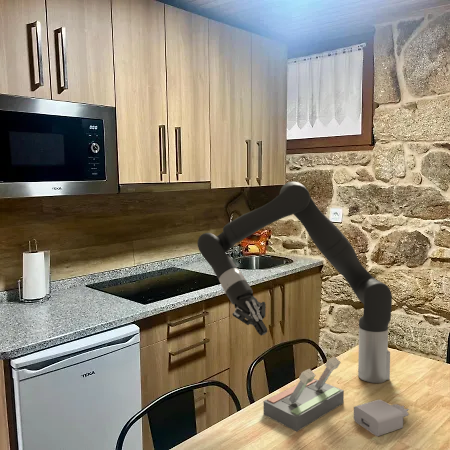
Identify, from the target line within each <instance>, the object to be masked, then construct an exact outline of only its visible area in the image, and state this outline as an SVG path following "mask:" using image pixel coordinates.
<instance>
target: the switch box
mask: <svg viewBox="0 0 450 450" xmlns="http://www.w3.org/2000/svg"><path fill="white" fill-rule="evenodd" d="M318 380H319V379H316V378H314V379H313V380H312V381H311V382H309V383H307V385H306V387H305V388H304V390H303V392H302V393H301V395H300V396H299V398H298V400H297V401H296V402H294V403H291V402H290V401H289V398H290V397H291V395H292V393H293V392H294V390H295V388H296V387H297V385H298V383H296V385H293V386H292V387H289V388H286V390H283V391H281V392H279V393H277V394H275V395H273V396H271V397H269V398H267V399H265V400H263V415H264V416H265V417H268V418H269V419H271V420H273V421H276V422H278V423H279V424H281V425H283V426H285V427H287V428H289V429H291V431H295V432H299V431H301V430H302V429H304V428H305V427H307V426H309V425H311V424H312V423H313V422H315V421H316V420H318V419H320V418H322V417H323V416H325V415H327V414H329V413H330V412H331V411H333V410H335V409H336V408H338V407H339V406H342V405H343V404H344V402H345V401H344V398H345V397H344V396H345V395H344V394H345V393H344V391H345V390H344V389H341V388H339V387H336V386H334V385H331V384H328V383H326V382H325V384H324V385H323V387H322V388H320V389H317V388H316V387H315V385H316V383H317V381H318Z"/></svg>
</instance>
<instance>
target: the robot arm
mask: <svg viewBox="0 0 450 450" xmlns="http://www.w3.org/2000/svg"><path fill="white" fill-rule="evenodd" d="M292 215H294V217H296V218H297V220H298V221H299V222H300V223H301V224H302V226H303V227H304V229H305V230H306V232H307V234H308V236H309V237H310V239H311V240H312V242H313V243H314V245H315V246H316V248H317V249H318V250H319V252H320V253H321V254H322V255H323V257H325V259H326V260H327V261H328V262H329V264H330V265H331V266H333V268H334V269H335V270H336V271H337V272H339V274H340V275H341V276H342V277H343V278H344V279H345V281H346V282H347V283H348V285H349V286H350V288H351V289H352V291H353V293H354V294H355V295H356V298H357V299H358V300H359V302H361V303H362V304H363V315H362V316H360V318H359V319H358V359H357V360H358V365H357V366H358V368H357V369H358V370H357V375H358V378H360V380H362V381H364V382H367V383H371V384H382V383H385V382H386V381H387V380H390V379H391V376H390V375H391V351H390V350H388V349H389V347H388V345H389V325H390V322H391V319H392V317H391V315H392V308H393V307H392V305H393V302H392V301H393V297H392V296H393V294H392V291H391V289H390V287H389V286H388V285H387V284H385V283H384V282H382V281H380V280H378V279H376V277H374V276H373V275H372V274H371V273H370V272H369V271H368V270H367V269H366V268H365V267H364V266H363V264H362V262H360V260H359V258H358V255H357V253H356V251H355V249H354V247H353V245H352V244H351V243H350V241H349V239H348V238H347V237H346V236H345V234H344V233H343V232H342V231H341V230H340V229H339V228H338V227H337V226H336V224H334V222H332V221H331V220H330V219H329V217H327V216H326V215H325V214H324V213H323V212H322V211H321V210H320V208H319V207H318V206H317V204H316V203H315V202H314V200H313V199H312V197H311V196H310V192H309V189H307V187H306V186H305V185H304V184H302V183H301V182H299V181H289V182H286V183H285V184H283V185H282V186H281V189H280V191H279V195H277V196H276V197H275V198H273V199H272V200H271V201H269V202H267V203H266V204H264V205H262V206H260V207H258V208H256V209H253V210H250V211H249V212H247V213H244V214H242V215H240V216H238V217H237V218H235V219H233V220H232V221H230V222H228V223H227V224H225V225H224V226H223V227H222V232H221V233H219V234H218V235H217V236H216V235H215V234H213V233H211V232H205V233H202V234H200V236H199V237H198V239H197V248H198V250H199V252H200V254H201V255H202V256H203V258H204V259H205V261H206V262H207V263H208V264H209V266H210V267H211V268H212V271H213V272H214V274H215V276H216V277H217V279H218V281H219V283H220V286H221V287H222V289H223V291H224V292H225V295H226V296H227V298H228V299H229V301H230V303H231V304H232V305H234V308H235V309H234V311H233V312H232V314H231V315H232V316H233V317H234V318H236V319H237V320H239V321H240V322H242V323H244V324H245V325H247V326H249V325H252V326H253V327H254V329H255V330H256V332H257V334H258V335H260V336H264V335H266V334H267V333H268V327H267V326H266V324H265V323H264V321H263V319H265V317H266V308H267V307H266V305H267V303H266V302H265V301H262V302H260V301H258V299H257V298H256V297H255V296H254V293H253V292H254V291H253V289H252V287H251V286H250V284H249V283H248V281H247V279H246V277H245V276H244V275H243V273H242V272H241V271H240V270H239V268H238V266H237V265H236V264H235V261H234V260H233V259H232V258H231V257H230V256H229V254H227V252H228V251H229V250H231V249H232V248H233V247H234V246H235V245H236V244H238V243H240V242H241V241H243V240H244V239H246V238H248V237H251V235H254V234H255V233H256V232H259V231H260V230H262V229H264V228H265V227H267V226H269V225H271V224H272V223H274V222H277V221H279V220H282V219H283V218H286V217H289V216H292Z"/></svg>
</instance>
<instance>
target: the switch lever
mask: <svg viewBox="0 0 450 450" xmlns="http://www.w3.org/2000/svg"><path fill="white" fill-rule="evenodd" d="M315 377H316V374H315V372H313V371H312V369H310V368H308V369H306V370H303V371H302V372H301V373H300V375H299V377H298V379H299V382H298V383H297V384H298V385H297V384H296V385H297V387H296V388H295V390H294V392H293V393H292V395H291V397H290V398H289V401H290V402H291V403H294V402H296V401H297V400H298V398H299V396H300V395H301V393H302V392H303V390H304V388H305V387H306V385H307V383H309V382H311V381H312V380H313V379H315Z"/></svg>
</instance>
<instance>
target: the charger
mask: <svg viewBox="0 0 450 450" xmlns="http://www.w3.org/2000/svg"><path fill="white" fill-rule="evenodd" d="M408 411H410V409H409V408H405V406H404V405H399V404H398V403H397V404H396V403H395V404H389V403H388V402H386V401H384V400H382V399H376V400H372V401H368V402H366V403H365V402H364V403H362V404H358V405H355V406H353V421H354V422H355V423H356V424H358V425H359V426H361V427H362V428H364V430H367V431H368V432H369V433H371V434H372V435H374V436H375V437H379V436H382V435H385V434H386V435H387V434H389V433H392V432H394V431H398V430H400V429H403V427H404V418H405V417H408V416H409V415H410V414H409V412H408Z"/></svg>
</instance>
